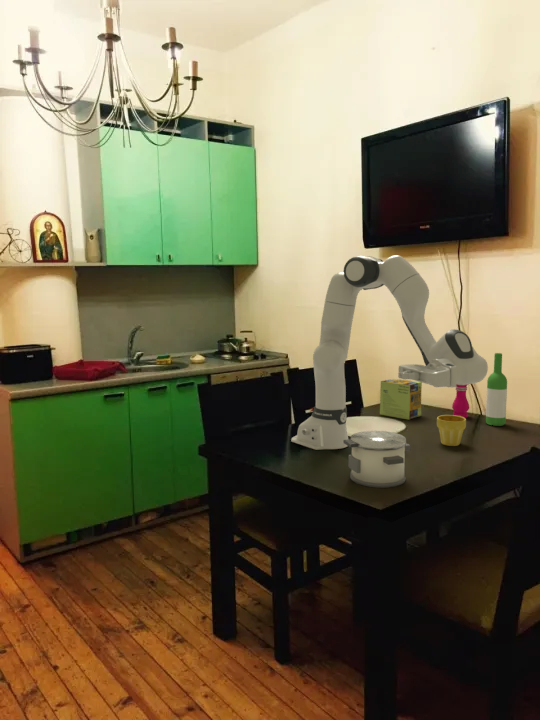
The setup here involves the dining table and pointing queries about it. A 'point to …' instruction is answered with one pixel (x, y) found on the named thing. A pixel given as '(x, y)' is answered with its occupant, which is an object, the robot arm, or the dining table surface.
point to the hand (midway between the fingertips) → (400, 376)
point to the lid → (376, 440)
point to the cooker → (378, 467)
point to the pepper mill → (461, 402)
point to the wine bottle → (496, 394)
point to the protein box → (400, 398)
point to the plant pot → (451, 429)
